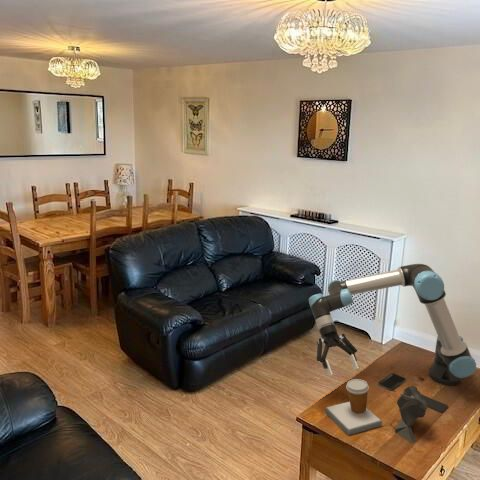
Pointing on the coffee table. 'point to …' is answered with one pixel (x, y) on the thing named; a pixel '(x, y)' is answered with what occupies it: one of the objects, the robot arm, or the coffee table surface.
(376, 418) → the plate
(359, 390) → the disposable coffee cup
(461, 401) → the coffee table surface
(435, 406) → the phone
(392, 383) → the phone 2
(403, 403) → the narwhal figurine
